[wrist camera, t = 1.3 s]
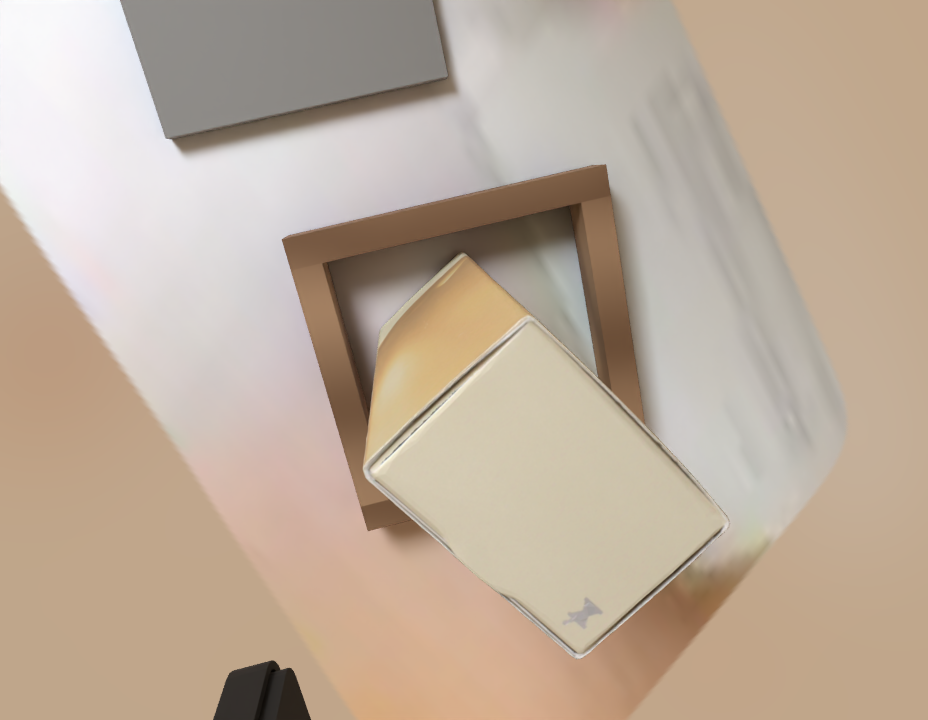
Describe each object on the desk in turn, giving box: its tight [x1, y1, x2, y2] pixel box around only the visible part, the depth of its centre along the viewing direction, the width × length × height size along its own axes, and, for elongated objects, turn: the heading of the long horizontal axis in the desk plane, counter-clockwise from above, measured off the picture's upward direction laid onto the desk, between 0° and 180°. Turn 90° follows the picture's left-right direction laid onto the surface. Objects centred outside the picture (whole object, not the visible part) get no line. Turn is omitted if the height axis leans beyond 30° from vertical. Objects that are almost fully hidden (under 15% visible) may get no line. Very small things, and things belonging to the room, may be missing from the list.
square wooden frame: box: [282, 165, 645, 531], centre depth 23 cm, size 11×11×2 cm
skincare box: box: [363, 252, 730, 659], centre depth 18 cm, size 6×4×12 cm
